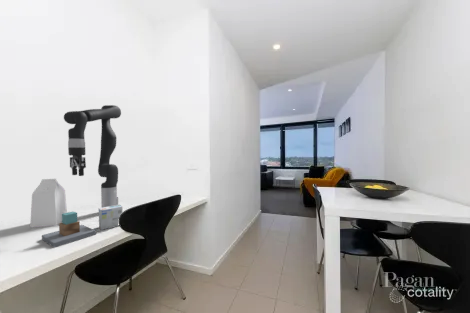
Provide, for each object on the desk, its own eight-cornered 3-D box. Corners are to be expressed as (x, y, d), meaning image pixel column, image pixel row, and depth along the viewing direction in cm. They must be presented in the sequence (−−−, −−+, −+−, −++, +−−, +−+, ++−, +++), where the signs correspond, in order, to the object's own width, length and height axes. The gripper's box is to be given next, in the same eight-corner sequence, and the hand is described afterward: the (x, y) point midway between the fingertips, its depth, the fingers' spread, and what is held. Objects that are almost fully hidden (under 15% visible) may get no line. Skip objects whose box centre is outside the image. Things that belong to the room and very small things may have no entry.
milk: (67, 218, 123) (66, 177, 123) (56, 225, 112) (55, 179, 112) (44, 220, 120) (43, 178, 120) (30, 227, 109) (29, 180, 109)
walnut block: (74, 229, 100) (74, 219, 100) (79, 231, 97) (79, 221, 97) (59, 233, 95) (59, 223, 95) (64, 236, 92) (64, 225, 92)
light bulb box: (120, 222, 116) (119, 204, 116) (123, 225, 111) (123, 206, 111) (98, 227, 109) (97, 207, 109) (100, 230, 104) (100, 210, 104)
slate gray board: (81, 228, 107) (81, 224, 107) (95, 234, 98) (95, 230, 98) (41, 239, 93) (41, 235, 93) (54, 247, 85) (54, 242, 85)
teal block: (73, 220, 99) (73, 211, 99) (77, 221, 97) (77, 212, 97) (62, 223, 95) (61, 213, 95) (66, 224, 93) (65, 215, 93)
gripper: (90, 146, 111) (91, 175, 111) (79, 147, 118) (80, 174, 119) (74, 146, 104) (75, 177, 105) (63, 147, 112) (64, 175, 112)
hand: (77, 175), depth 112 cm, fingers open, 8 cm apart
